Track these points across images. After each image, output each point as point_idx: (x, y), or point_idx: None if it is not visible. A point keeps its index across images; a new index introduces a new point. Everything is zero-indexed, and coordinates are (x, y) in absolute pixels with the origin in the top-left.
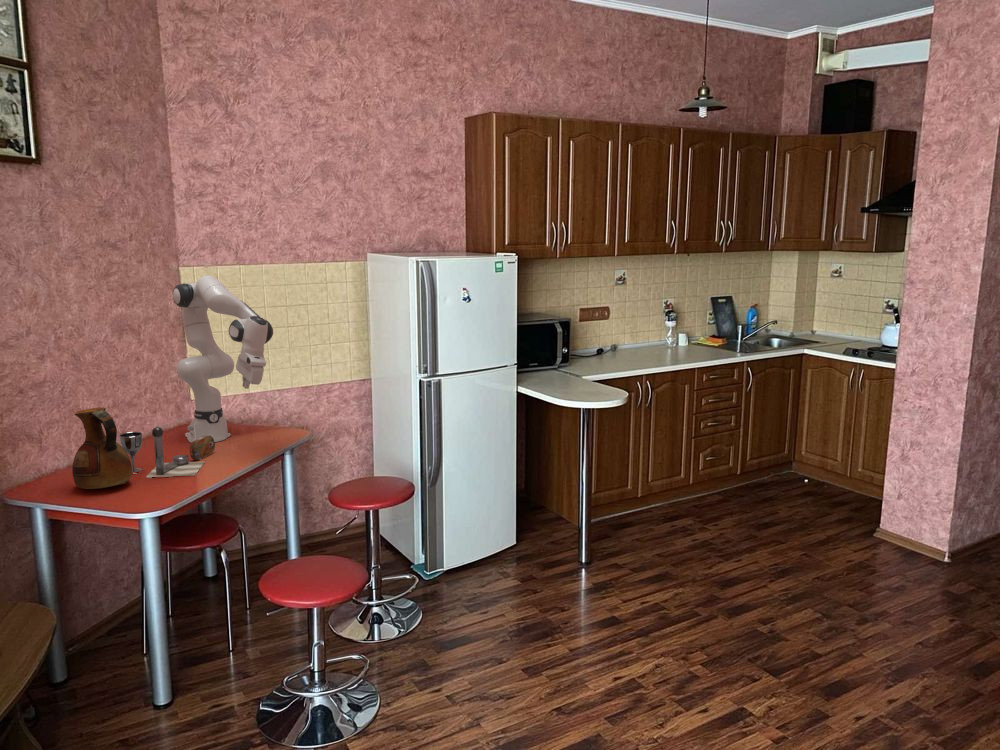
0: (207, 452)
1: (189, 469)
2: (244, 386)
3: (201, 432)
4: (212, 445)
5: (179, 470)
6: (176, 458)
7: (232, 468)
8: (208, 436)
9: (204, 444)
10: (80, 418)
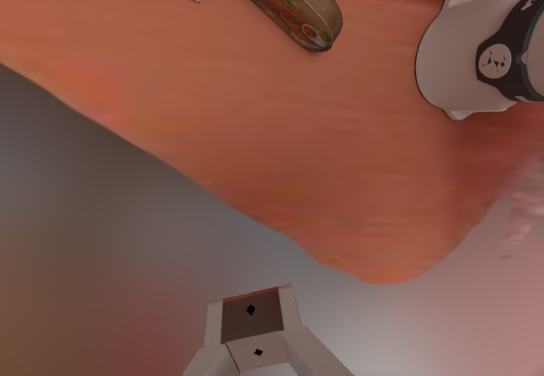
0: (286, 22)
1: None
2: (220, 312)
3: (460, 21)
4: (315, 42)
5: None
6: None
7: (101, 88)
8: (323, 18)
9: (289, 2)
10: None
